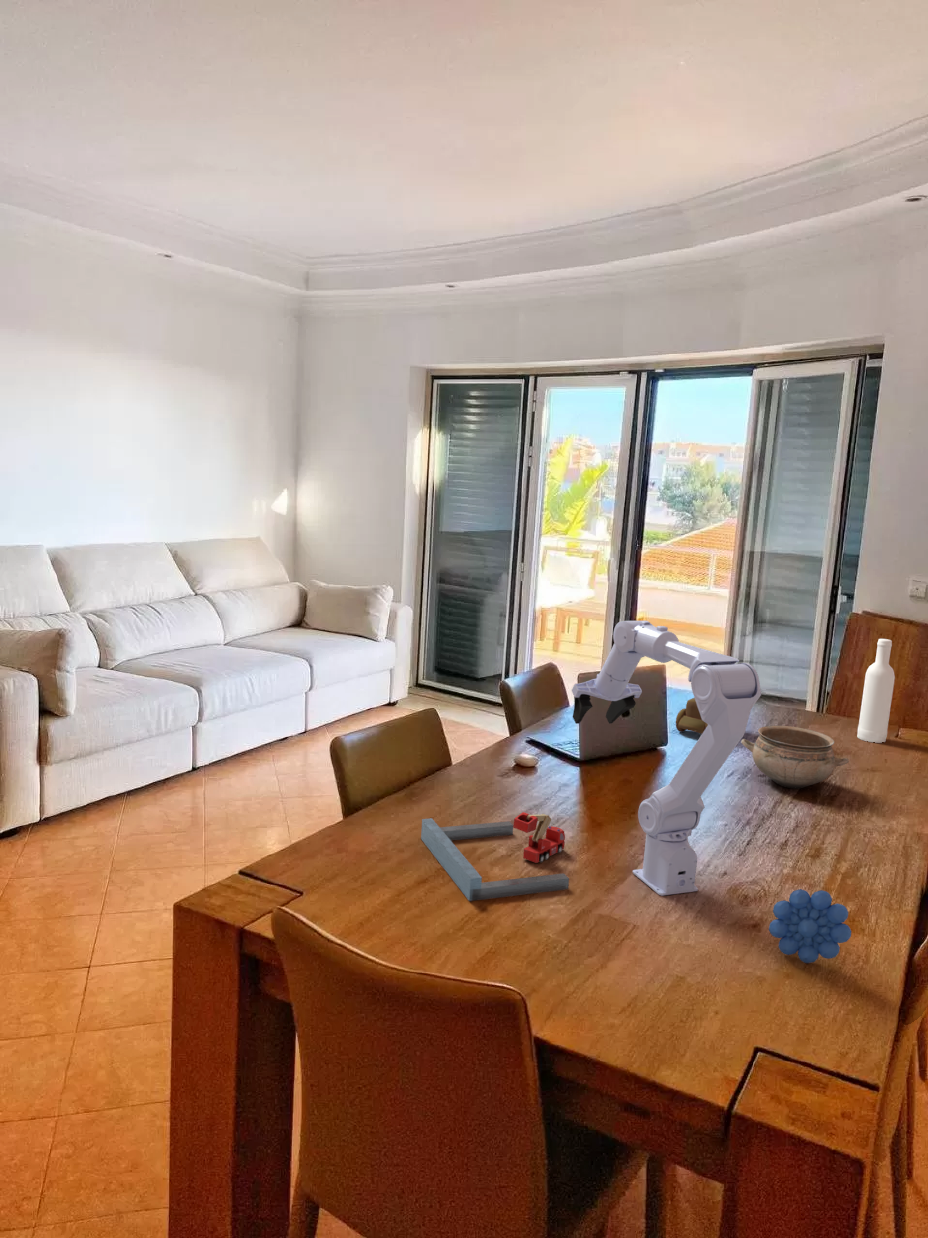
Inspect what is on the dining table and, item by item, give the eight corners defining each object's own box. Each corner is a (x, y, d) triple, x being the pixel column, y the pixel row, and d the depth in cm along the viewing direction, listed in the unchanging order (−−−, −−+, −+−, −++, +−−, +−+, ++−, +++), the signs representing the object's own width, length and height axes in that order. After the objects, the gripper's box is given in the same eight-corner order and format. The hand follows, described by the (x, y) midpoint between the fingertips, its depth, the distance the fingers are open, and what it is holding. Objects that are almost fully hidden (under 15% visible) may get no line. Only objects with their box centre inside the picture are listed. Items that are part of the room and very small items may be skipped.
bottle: (887, 739, 266) (902, 640, 261) (884, 745, 259) (898, 643, 254) (858, 733, 270) (872, 636, 265) (854, 739, 263) (868, 639, 258)
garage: (568, 889, 156) (570, 867, 155) (469, 901, 149) (470, 878, 148) (508, 830, 180) (510, 811, 179) (421, 838, 173) (422, 819, 172)
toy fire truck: (566, 850, 172) (570, 802, 171) (524, 872, 162) (528, 821, 160) (551, 845, 174) (555, 797, 173) (509, 866, 164) (513, 815, 162)
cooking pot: (848, 784, 222) (854, 736, 220) (840, 807, 205) (847, 755, 204) (745, 763, 233) (750, 718, 231) (729, 783, 217) (735, 734, 215)
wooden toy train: (702, 721, 272) (707, 668, 270) (737, 730, 265) (744, 675, 262) (670, 733, 257) (676, 677, 255) (707, 743, 250) (714, 685, 247)
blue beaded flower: (851, 963, 137) (861, 890, 135) (842, 983, 131) (852, 906, 129) (773, 938, 143) (782, 867, 141) (761, 955, 138) (771, 882, 136)
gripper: (640, 658, 179) (615, 706, 187) (577, 656, 173) (553, 705, 181) (655, 682, 173) (629, 730, 182) (590, 681, 168) (565, 731, 176)
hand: (592, 720), depth 181 cm, fingers open, 7 cm apart
